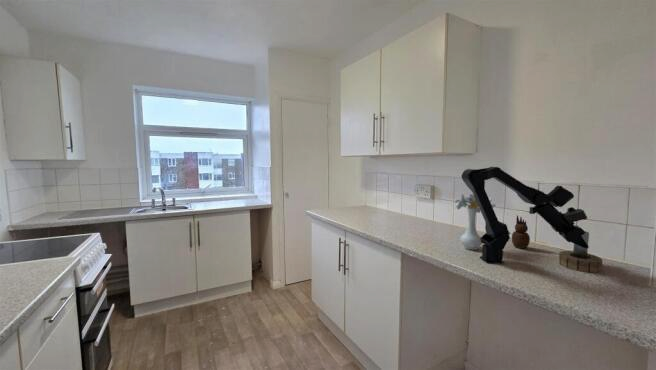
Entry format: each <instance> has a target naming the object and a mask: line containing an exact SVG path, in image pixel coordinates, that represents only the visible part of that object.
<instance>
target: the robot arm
mask: <svg viewBox="0 0 656 370" xmlns="http://www.w3.org/2000/svg"><path fill="white" fill-rule="evenodd" d="M490 179H495V180H496V181H498V182H499V183H501V184H502V185H504V186H505V187H507V188H508V189H510V190H512V191H513V192H515V193H516V195H517V196H518V197H519V199H520V200H522V201H523V202H524V203H526V204H530V205H534V206H529V207H528V208H529V212H528V213H529V214H531V215H535V214H537V215H539V216H540V217H541V218H542V219H543V220H544V221H545V222H546V223H547V224H549V225H550V226H551V227H550V228H552V230H553V231H555V232H556V233H558V234H559V235H560V236H561V237H562V238H563V239H564V240H566V241H567V242H568V243H572V244H573V245H574V244H576V245H579V246H581V247H583V248H586V249H587V248H588V249H589V247H590V246H589V244H588V245H587V243H586V242H585V240H584V239H583V238H582V236H581V235H583V234H585V230H584V229H583V228H582V227H580V226H579V225H575V222H576V223H577V222H579V221H583V220H588V216H587V215H586V212H585V210H583V209H582V208H574V207H572V206H571V207H567V210H566V212H565V213H563V212H562V211H560V210H558V209H557V208H562V207H564V206H565V205H566V204H567V203H569V202H570V201H571V200H573V199H574V197H575V195H574V194H573V192H572V191H570V190H568V189H567V188H564V187H563V186H562V185H556V186H555V187H554V188H553V189H552V190H551V191H549V193H545V192H544V191H542V190H540V189H537V188H534V187H532V186H529V185H526V184H524V183H523V182H522V181H520V180H518V179H517V178H515V177H513V176H512V175H511V174H509V173H507V172H506V171H504V170H503V169H501V168H500V167H498V166H488V167H486V168H479V169H473V168H466V169H465V170H463V172H462V173H461V180H462V181H463V182H464V184H465V185H466V187H467V188H468V189H469V191H471V192H472V195H474V197H475V199H476V202H477V204H478V206H479V209H480V213H481V215H482V217H483V219H484V222H485V226H484V227H485V229H484V230H485V233H484V234H483V235H482V236H480V237H481V238H480V239H481V242H482V245H481V246H482V247H481V249H482V250H481V251H482V252H481V256H479V259H481V260H482V261H483V262H485V263H486V264H504V263H505V261H504V260H503V259H504V250H505V247H506V245H507V244H508V242H509V240H511V238H510V237H511V236H510V235H512V234H511V232H510V231H509V229H508V226H507V223H505V222H502V221H499V220H498V217H497V214H496V213H495V210H494V207H492V205H491V203H492V202H490V200H489V198H490V197H489V196H488V194H487V191H486V188H485V186H486V181H487V180H490Z"/></svg>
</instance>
